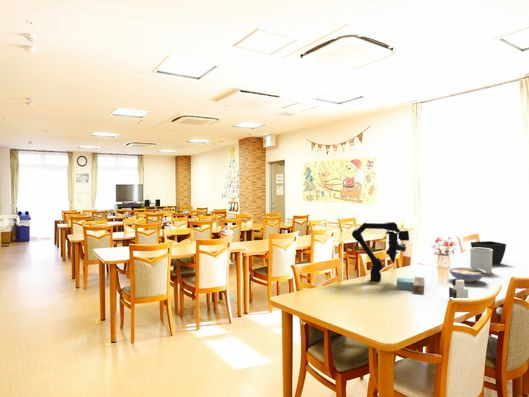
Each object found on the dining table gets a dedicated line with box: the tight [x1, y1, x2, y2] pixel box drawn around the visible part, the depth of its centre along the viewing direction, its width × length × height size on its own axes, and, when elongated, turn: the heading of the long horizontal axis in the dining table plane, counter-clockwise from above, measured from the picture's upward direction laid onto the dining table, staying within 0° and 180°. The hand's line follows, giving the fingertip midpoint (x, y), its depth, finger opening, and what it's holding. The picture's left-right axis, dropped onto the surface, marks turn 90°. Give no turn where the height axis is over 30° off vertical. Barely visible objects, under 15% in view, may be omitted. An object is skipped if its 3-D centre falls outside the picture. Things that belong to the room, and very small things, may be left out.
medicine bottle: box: [448, 278, 469, 299], centre depth 209 cm, size 7×7×12 cm
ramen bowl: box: [448, 266, 488, 283], centre depth 251 cm, size 25×23×8 cm
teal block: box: [396, 277, 414, 291], centre depth 238 cm, size 10×10×5 cm
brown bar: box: [412, 276, 425, 294], centre depth 235 cm, size 6×22×5 cm, turn 156°
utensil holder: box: [469, 247, 493, 275], centre depth 275 cm, size 15×15×18 cm
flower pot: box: [470, 240, 507, 265], centre depth 307 cm, size 19×19×17 cm
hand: (393, 262), depth 254 cm, fingers closed
